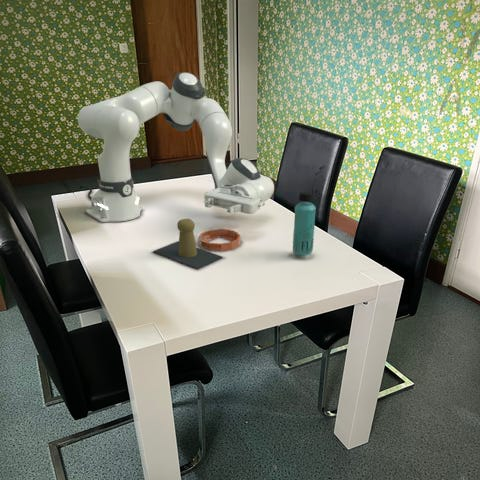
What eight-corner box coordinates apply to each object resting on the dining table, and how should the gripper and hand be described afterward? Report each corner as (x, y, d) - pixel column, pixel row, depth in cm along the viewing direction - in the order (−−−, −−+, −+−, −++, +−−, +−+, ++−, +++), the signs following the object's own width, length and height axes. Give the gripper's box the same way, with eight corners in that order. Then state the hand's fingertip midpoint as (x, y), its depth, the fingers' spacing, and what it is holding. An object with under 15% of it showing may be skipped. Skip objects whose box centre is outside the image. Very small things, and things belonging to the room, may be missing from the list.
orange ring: (190, 244, 155) (190, 237, 153) (218, 232, 163) (218, 226, 162) (220, 254, 147) (220, 247, 146) (248, 242, 156) (248, 235, 154)
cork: (200, 251, 148) (198, 217, 142) (192, 258, 143) (190, 224, 137) (183, 248, 150) (180, 215, 144) (175, 256, 145) (172, 222, 139)
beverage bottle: (299, 261, 142) (303, 196, 132) (287, 253, 147) (290, 191, 137) (316, 257, 145) (322, 193, 134) (304, 250, 150) (309, 188, 139)
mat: (153, 252, 149) (153, 251, 148) (178, 242, 156) (178, 241, 155) (197, 269, 138) (197, 268, 137) (222, 258, 145) (222, 256, 144)
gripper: (267, 212, 157) (243, 223, 147) (220, 201, 167) (194, 211, 158) (267, 193, 153) (243, 203, 144) (219, 183, 164) (193, 192, 154)
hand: (217, 207), depth 151 cm, fingers open, 8 cm apart
